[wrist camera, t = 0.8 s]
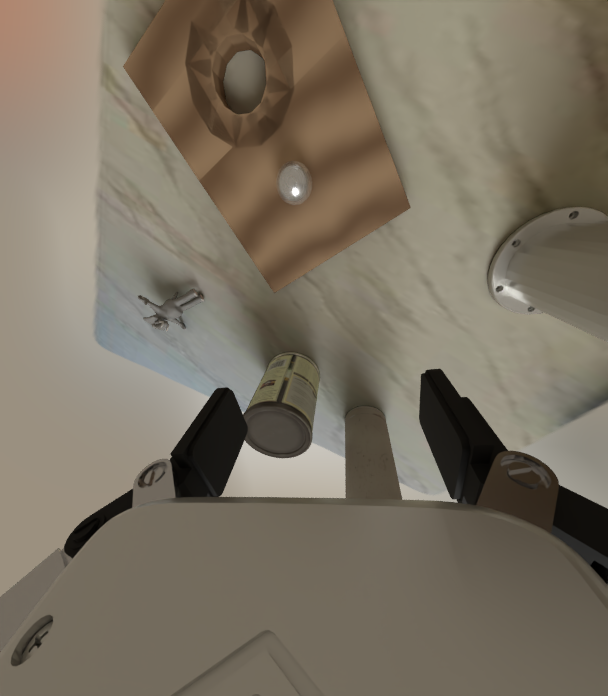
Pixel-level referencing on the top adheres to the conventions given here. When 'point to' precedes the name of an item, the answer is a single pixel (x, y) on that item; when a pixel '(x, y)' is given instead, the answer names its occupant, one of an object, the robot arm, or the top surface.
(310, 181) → the ball
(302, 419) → the coffee can
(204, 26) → the deck
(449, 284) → the top surface
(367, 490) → the thermos bottle
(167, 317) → the grey toy figure
